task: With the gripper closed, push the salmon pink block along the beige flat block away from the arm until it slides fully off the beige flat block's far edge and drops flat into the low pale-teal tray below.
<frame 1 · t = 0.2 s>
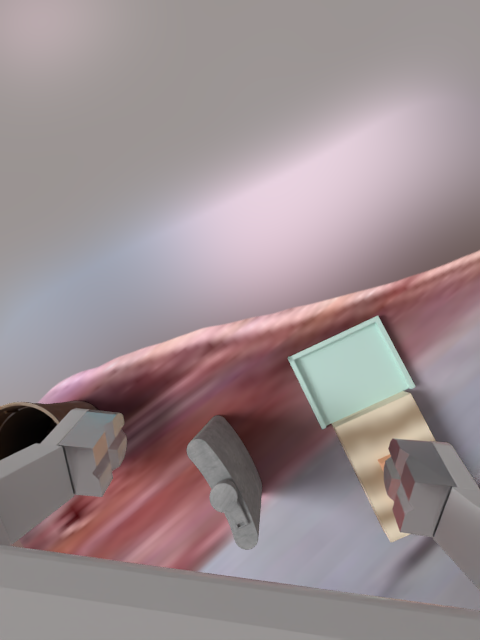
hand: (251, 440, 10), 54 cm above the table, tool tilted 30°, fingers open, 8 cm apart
beige flat block: (392, 459, 60), on the table
plant pot: (79, 432, 66), on the table
hip flask: (237, 452, 63), on the table
tray: (348, 371, 62), on the table
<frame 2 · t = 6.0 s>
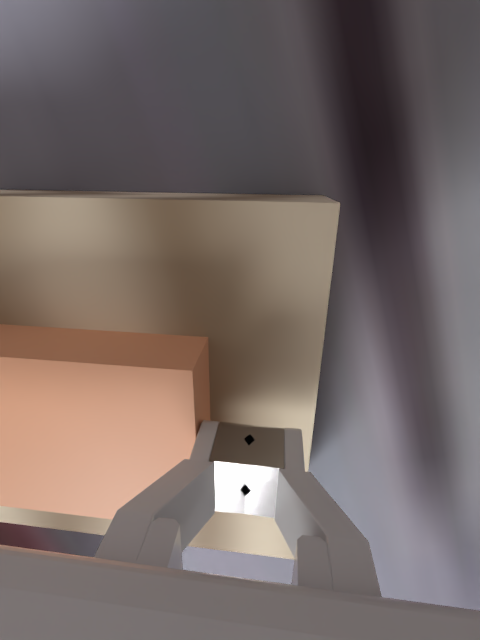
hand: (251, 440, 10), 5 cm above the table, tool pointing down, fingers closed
beige flat block: (91, 349, 16), on the table
salmon pink block: (86, 404, 12), point 4 cm above the table, touching beige flat block, gripper
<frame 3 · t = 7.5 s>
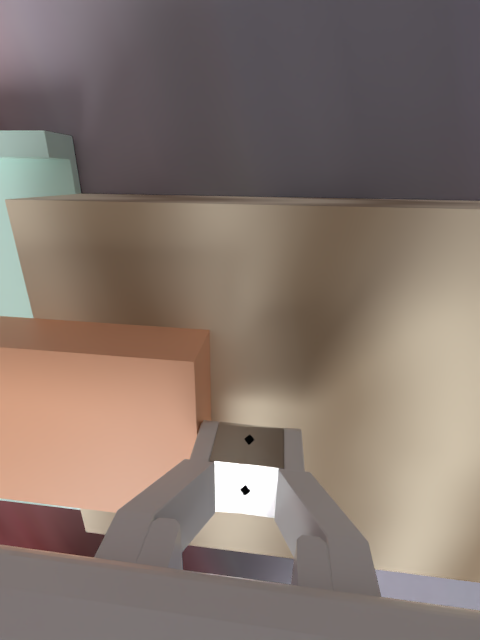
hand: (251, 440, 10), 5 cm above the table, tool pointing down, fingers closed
beige flat block: (321, 365, 15), on the table
salmon pink block: (87, 398, 12), point 4 cm above the table
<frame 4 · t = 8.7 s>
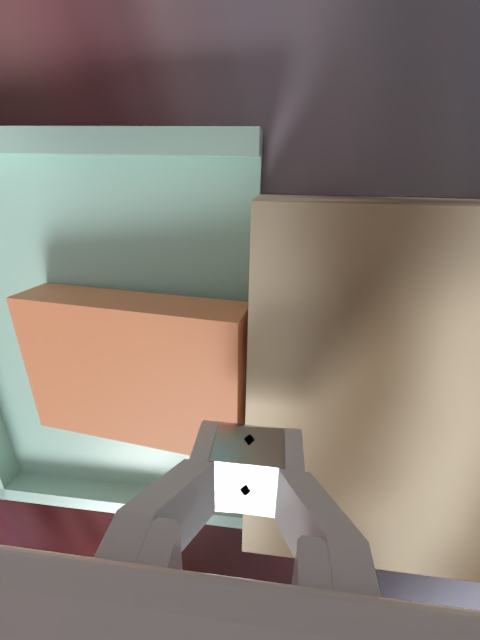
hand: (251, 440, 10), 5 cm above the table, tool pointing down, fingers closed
salmon pink block: (148, 357, 15), point 1 cm above the table, tilted 7°
tray: (106, 349, 16), on the table
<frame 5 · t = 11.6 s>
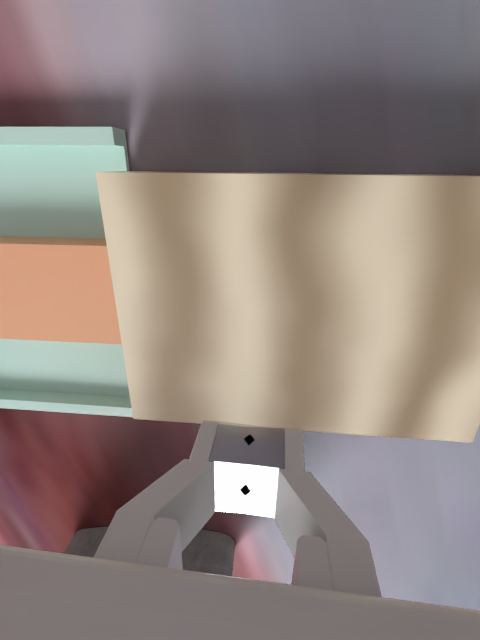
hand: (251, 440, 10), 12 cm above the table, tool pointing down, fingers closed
beige flat block: (301, 296, 21), on the table
salmon pink block: (71, 285, 22), resting on tray
hip flask: (152, 536, 32), on the table
tray: (39, 286, 22), on the table
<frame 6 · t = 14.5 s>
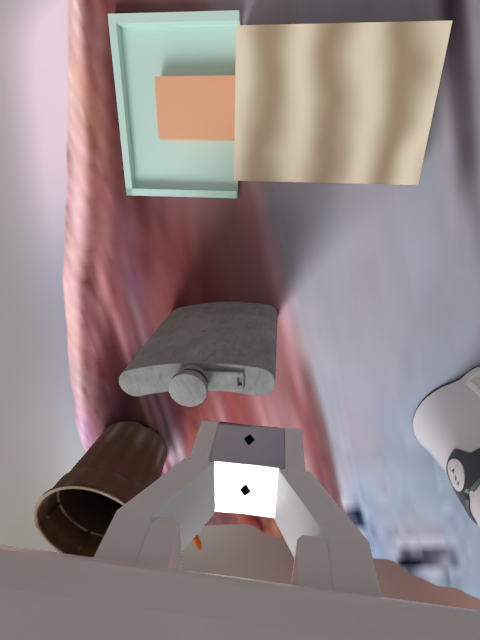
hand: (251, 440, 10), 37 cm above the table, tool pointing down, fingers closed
beige flat block: (326, 115, 38), on the table
salmon pink block: (199, 111, 39), resting on tray
plant pot: (136, 445, 62), on the table
hip flask: (222, 313, 50), on the table
tray: (180, 115, 40), on the table
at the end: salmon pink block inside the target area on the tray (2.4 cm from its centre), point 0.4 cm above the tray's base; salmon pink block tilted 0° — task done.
